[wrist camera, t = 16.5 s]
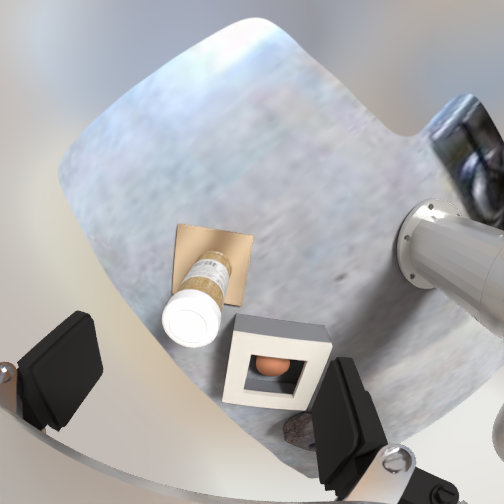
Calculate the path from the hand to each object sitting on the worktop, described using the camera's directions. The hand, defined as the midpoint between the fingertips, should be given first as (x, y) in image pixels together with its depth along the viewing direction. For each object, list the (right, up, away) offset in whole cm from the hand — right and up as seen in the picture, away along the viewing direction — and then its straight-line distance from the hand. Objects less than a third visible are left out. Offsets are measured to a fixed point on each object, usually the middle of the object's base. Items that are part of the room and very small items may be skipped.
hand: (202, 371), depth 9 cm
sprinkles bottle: (-3, +3, +24) cm, 24 cm away
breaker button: (+5, -10, +27) cm, 29 cm away
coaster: (-3, +3, +24) cm, 24 cm away
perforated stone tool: (+14, -26, +32) cm, 44 cm away
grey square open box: (+5, -10, +27) cm, 30 cm away
